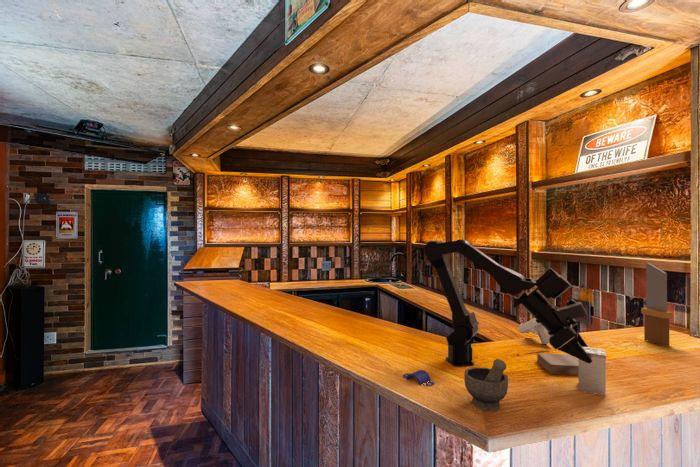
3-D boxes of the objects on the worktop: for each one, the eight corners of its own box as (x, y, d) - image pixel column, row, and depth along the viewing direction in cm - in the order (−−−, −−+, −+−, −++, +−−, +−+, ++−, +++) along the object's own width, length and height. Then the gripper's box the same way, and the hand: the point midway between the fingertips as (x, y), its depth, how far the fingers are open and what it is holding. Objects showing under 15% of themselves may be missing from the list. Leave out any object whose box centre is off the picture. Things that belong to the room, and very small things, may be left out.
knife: (641, 339, 135) (641, 262, 135) (649, 339, 135) (649, 262, 136) (664, 346, 126) (664, 264, 127) (672, 346, 127) (672, 264, 127)
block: (550, 374, 100) (550, 364, 100) (537, 362, 110) (537, 353, 110) (588, 377, 99) (588, 366, 99) (571, 364, 109) (571, 354, 109)
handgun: (555, 342, 124) (550, 312, 129) (544, 341, 124) (539, 311, 129) (528, 350, 142) (524, 323, 147) (518, 350, 142) (515, 323, 147)
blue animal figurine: (437, 384, 93) (438, 375, 93) (427, 390, 90) (427, 380, 90) (409, 374, 100) (409, 365, 100) (399, 378, 97) (399, 369, 97)
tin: (578, 390, 89) (578, 351, 89) (578, 382, 94) (578, 345, 94) (606, 396, 86) (606, 355, 86) (604, 387, 91) (604, 349, 91)
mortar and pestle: (456, 397, 85) (456, 347, 85) (490, 393, 87) (490, 345, 87) (484, 420, 74) (484, 364, 74) (522, 415, 76) (522, 360, 76)
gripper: (564, 295, 86) (621, 348, 79) (566, 287, 101) (614, 330, 95) (528, 323, 90) (580, 375, 84) (536, 311, 106) (580, 354, 99)
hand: (590, 357), depth 90 cm, fingers open, 9 cm apart
